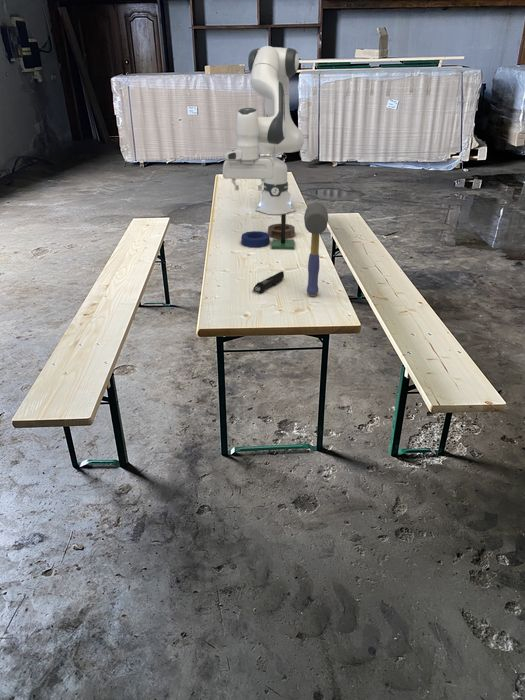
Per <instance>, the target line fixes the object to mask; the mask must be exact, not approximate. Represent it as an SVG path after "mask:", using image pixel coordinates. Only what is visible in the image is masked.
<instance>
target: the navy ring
mask: <svg viewBox="0 0 525 700" xmlns="http://www.w3.org/2000/svg"><path fill="white" fill-rule="evenodd" d="M240 239H241V241H240V242H241V245H242V246H244V247H247V248H251V249H252V248H255V249H257V248H265V247H267V246H269V245H270V237H269V234H268V232H265V231H261V230H260V231H258V230H252V231H246V232H244V233H242V234H241V237H240Z"/></svg>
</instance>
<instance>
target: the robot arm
mask: <svg viewBox="0 0 525 700" xmlns="http://www.w3.org/2000/svg"><path fill="white" fill-rule="evenodd" d="M299 65H300V57H299V53H298V51H297V50H296V48H292V47H277V46H274V47H273V46H270V45H264V46H262V47H260V48H259V47H258V48H254V49H252V50H251V51H250V52H249V54H248V58H247V67H248V71H249V73H250V78H249V79H250V86H251V88H252V90H253V91H254V92H255V93H256V94H257V95H258V96H260V97H263V98H264V113H265V115H267V116H259V114H258V110H257V109H256V108H254V107H244V108H240V109H239V110H238V111H237V113H236V120H235V122H236V123H235V135H236V140H237V141H236V145H235V147H236V148H235V149H232V150H229V151H228V152H226V153H225V155H224V157H225V160H224V162H223V164H222V177H223V179H224V180H225V179H226V180H227V179H228V180H229V179H230V180H231V183H232V184H233V186H234V191H239V190H240V188H239V187H240V185H239V184H237V183H236V181H237V180H260V182H261V183H260V185H259V184H258V186H257V190H258V191H261V193H260V202H259V204H258V207H257V208H256V211H257V212H261V213H263V214H267V215H274V216H275V215H281V214H289V213H293V212H295V208H294V207H293V205H292V200H291V199H292V198H291V197H292V195H291V193H290V192H289V191H288V190H289V182H288V165H287V164H286V162H285V161H283V160H282V159H280V158H278V157H277V155H276V153H287V154H288V153H296V152H299V151H300V150H302V148H303V146H304V144H305V143H304V142H305V137H304V134H303V132H302V130H301V129H300V128H298V126H297V125H296V124H295V123H294V121H293V118H292V115H291V112H290V110H291V109H290V79H291V78H292V77H294V76H295V74H296V73H297V72H298V69H299Z"/></svg>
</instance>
